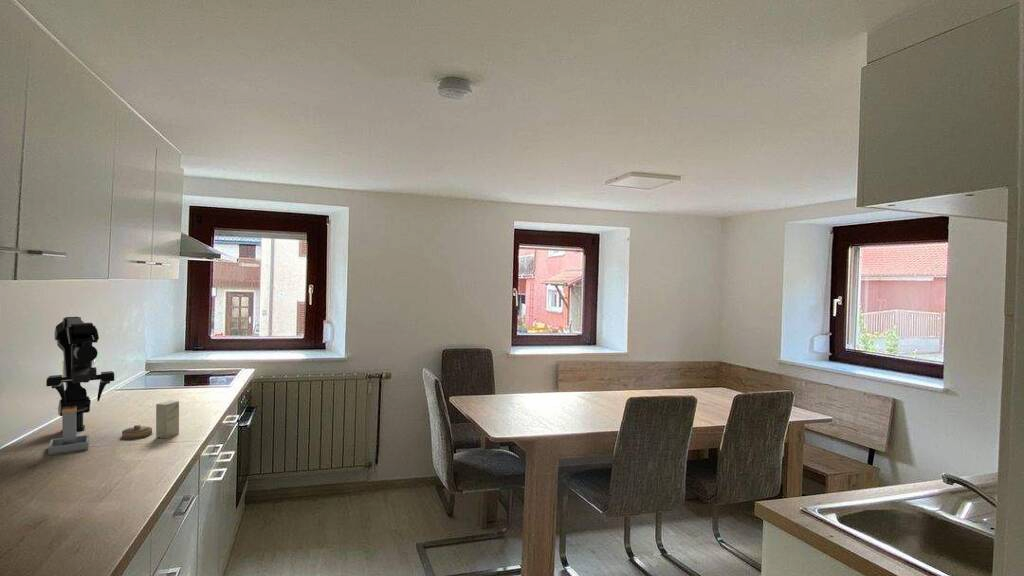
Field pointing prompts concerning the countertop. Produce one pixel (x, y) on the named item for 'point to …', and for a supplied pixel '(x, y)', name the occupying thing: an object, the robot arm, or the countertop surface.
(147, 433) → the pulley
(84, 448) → the tray
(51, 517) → the countertop surface
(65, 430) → the pin
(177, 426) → the skincare box
